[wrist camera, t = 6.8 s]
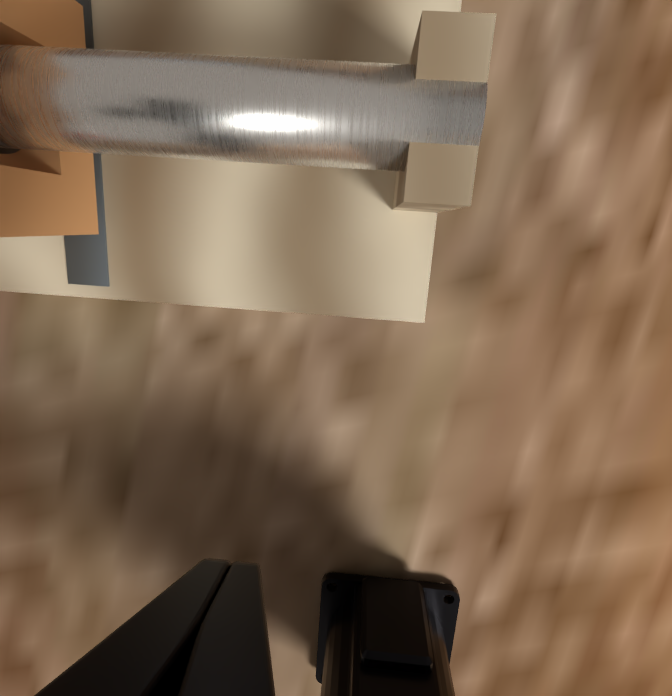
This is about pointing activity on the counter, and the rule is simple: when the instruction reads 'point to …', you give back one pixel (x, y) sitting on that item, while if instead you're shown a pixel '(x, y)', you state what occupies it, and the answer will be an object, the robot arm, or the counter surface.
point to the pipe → (229, 107)
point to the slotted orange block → (42, 165)
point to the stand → (269, 175)
